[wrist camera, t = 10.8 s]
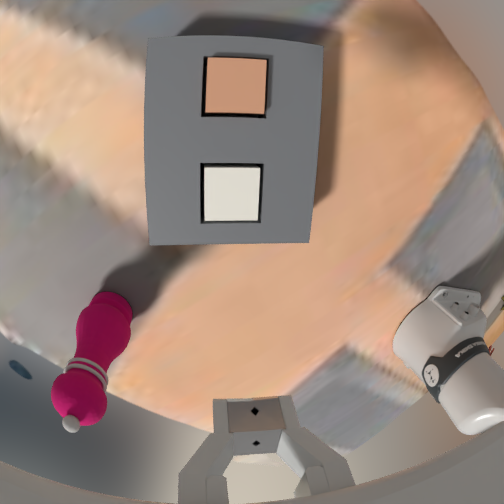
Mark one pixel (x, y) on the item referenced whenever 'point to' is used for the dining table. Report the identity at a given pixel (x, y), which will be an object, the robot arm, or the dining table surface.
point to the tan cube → (235, 86)
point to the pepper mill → (92, 360)
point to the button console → (230, 139)
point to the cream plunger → (231, 191)
